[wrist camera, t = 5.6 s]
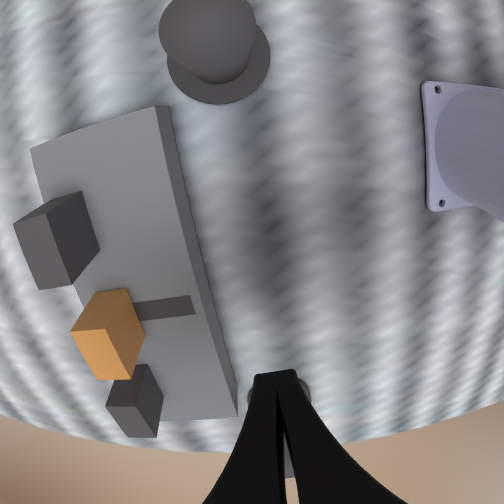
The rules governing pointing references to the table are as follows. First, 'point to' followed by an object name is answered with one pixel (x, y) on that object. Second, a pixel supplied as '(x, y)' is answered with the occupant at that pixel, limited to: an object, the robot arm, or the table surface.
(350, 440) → the table surface
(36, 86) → the table surface
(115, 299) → the switch
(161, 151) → the box
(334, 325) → the table surface
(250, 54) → the grey disc-based knob
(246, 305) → the table surface
